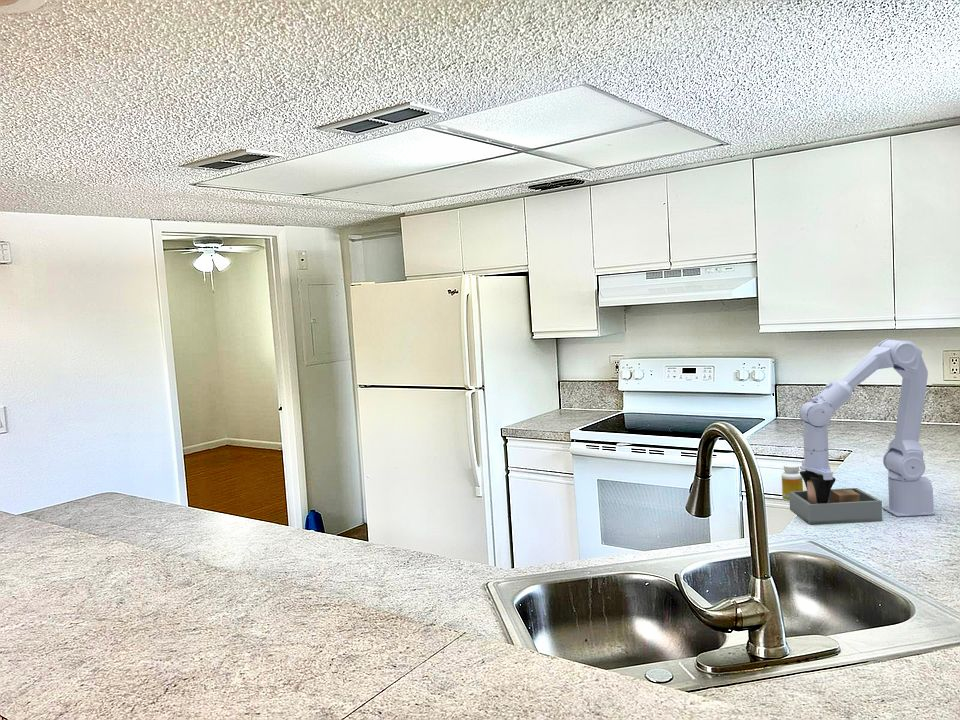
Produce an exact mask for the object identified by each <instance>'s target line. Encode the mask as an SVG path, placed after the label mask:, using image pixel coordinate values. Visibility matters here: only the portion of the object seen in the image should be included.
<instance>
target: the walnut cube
mask: <svg viewBox="0 0 960 720" xmlns="http://www.w3.org/2000/svg"><path fill="white" fill-rule="evenodd" d="M831 493H832V503H841V502H859V501H860V494H858V493H856V492H855V491H853V490H834V491H831Z"/></svg>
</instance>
